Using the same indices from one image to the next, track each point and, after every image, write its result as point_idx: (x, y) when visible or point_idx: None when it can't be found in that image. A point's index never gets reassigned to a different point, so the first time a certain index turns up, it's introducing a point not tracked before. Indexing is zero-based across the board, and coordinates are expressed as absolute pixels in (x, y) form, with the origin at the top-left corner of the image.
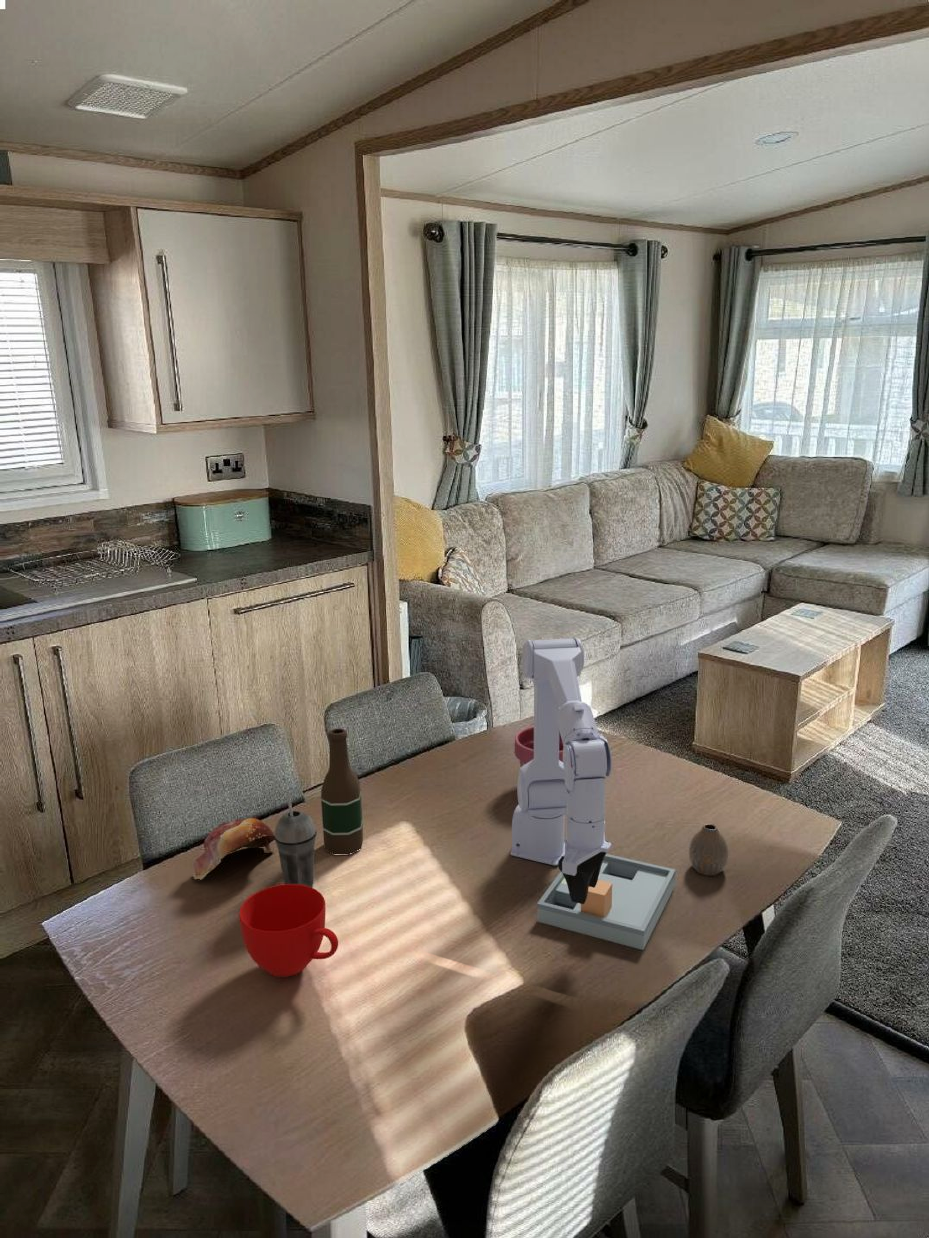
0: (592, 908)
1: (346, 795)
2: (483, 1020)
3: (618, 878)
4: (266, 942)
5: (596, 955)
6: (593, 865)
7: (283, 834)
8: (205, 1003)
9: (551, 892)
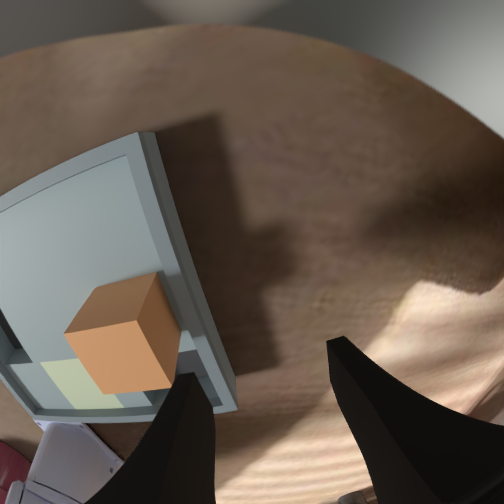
0: (164, 319)
1: None
2: (493, 268)
3: (15, 329)
4: None
5: (257, 216)
6: (184, 474)
7: None
8: (487, 420)
9: None
